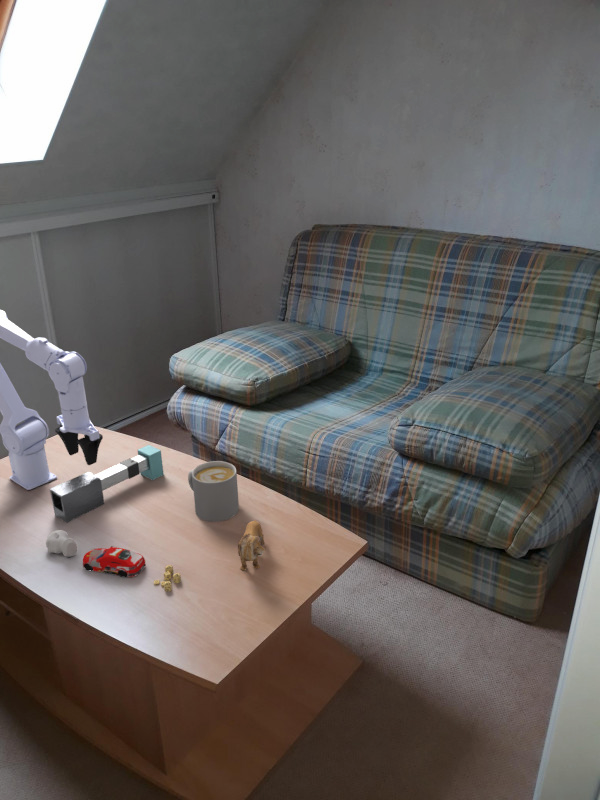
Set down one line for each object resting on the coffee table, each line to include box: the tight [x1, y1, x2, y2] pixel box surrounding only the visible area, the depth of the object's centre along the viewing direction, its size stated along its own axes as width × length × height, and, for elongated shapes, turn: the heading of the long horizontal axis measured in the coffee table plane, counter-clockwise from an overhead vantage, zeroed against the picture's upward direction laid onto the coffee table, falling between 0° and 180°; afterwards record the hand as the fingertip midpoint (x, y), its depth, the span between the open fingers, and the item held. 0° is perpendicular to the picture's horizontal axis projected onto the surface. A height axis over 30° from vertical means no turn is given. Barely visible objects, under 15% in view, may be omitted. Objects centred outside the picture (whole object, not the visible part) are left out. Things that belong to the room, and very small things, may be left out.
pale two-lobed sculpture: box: [45, 529, 78, 558], centre depth 137 cm, size 4×8×5 cm
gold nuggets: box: [153, 564, 182, 593], centre depth 129 cm, size 5×5×2 cm
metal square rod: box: [95, 454, 150, 492], centre depth 158 cm, size 3×20×3 cm, turn 139°
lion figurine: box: [237, 519, 266, 571], centre depth 133 cm, size 15×5×9 cm, turn 4°
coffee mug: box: [187, 460, 240, 523], centre depth 151 cm, size 13×10×10 cm
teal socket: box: [137, 444, 164, 481], centre depth 165 cm, size 5×4×7 cm
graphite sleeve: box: [49, 471, 105, 524], centre depth 151 cm, size 5×10×7 cm, turn 140°
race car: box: [82, 545, 146, 579], centre depth 132 cm, size 13×5×4 cm, turn 72°
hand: (82, 458), depth 156 cm, fingers open, 7 cm apart
